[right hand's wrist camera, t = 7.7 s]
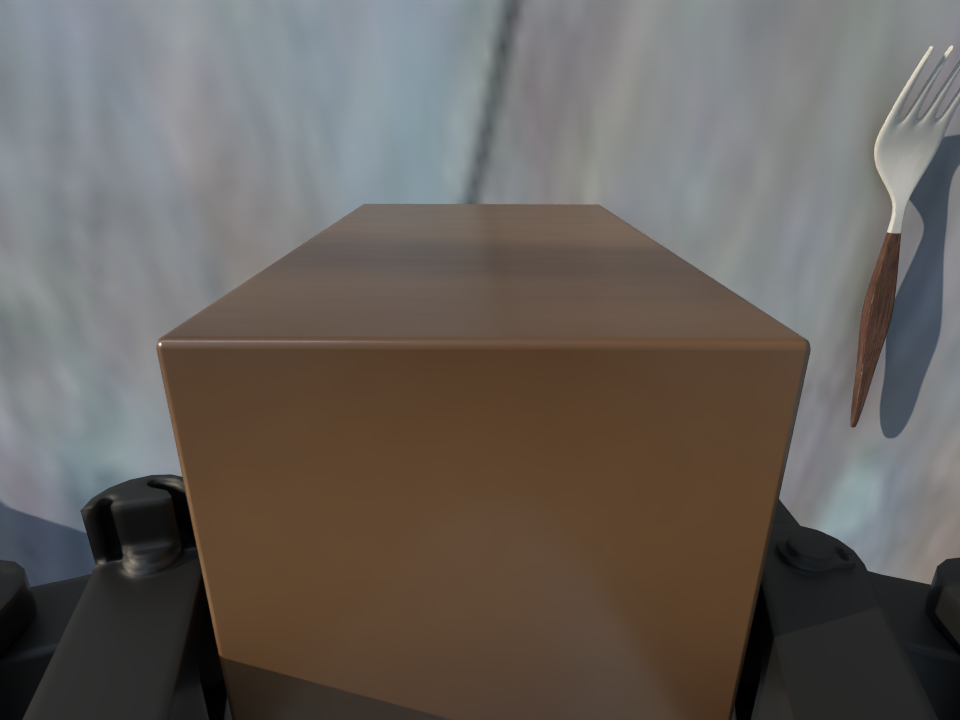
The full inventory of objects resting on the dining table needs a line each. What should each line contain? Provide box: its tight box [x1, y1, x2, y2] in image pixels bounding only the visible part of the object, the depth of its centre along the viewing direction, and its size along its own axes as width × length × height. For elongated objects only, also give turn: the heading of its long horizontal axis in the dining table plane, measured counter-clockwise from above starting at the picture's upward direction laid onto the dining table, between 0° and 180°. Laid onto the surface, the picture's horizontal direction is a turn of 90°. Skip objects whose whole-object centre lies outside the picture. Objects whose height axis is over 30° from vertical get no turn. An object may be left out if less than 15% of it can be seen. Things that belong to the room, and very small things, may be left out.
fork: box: [851, 45, 960, 427], centre depth 25 cm, size 3×16×2 cm, turn 2°
